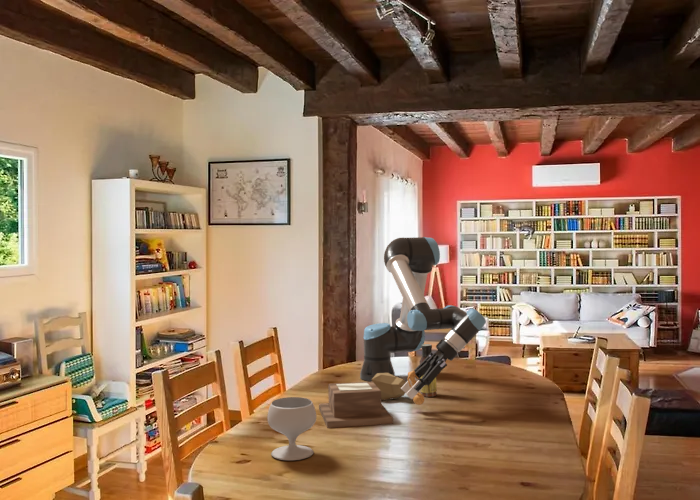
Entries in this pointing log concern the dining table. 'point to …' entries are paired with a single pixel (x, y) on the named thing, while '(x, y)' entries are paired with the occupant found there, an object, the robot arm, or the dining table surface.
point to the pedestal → (354, 405)
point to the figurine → (419, 397)
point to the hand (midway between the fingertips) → (406, 393)
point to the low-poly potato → (389, 385)
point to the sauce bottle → (428, 389)
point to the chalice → (291, 425)
